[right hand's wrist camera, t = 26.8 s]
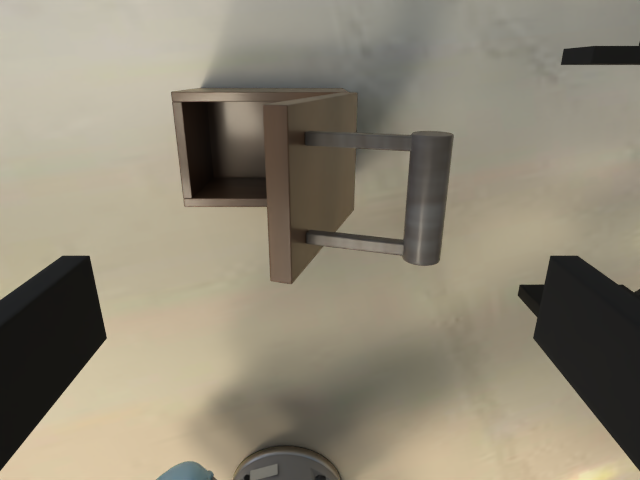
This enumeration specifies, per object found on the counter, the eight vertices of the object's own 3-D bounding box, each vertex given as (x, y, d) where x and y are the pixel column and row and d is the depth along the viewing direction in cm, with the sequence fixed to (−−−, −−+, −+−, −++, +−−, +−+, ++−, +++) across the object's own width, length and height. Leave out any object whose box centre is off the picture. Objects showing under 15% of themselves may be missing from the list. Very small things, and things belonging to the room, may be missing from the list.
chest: (208, 182, 45) (184, 206, 37) (199, 87, 42) (170, 91, 33) (341, 182, 45) (346, 207, 37) (343, 88, 42) (348, 92, 33)
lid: (269, 281, 24) (433, 306, 21) (261, 104, 20) (455, 109, 18) (339, 208, 36) (446, 218, 34) (341, 92, 33) (461, 93, 31)
